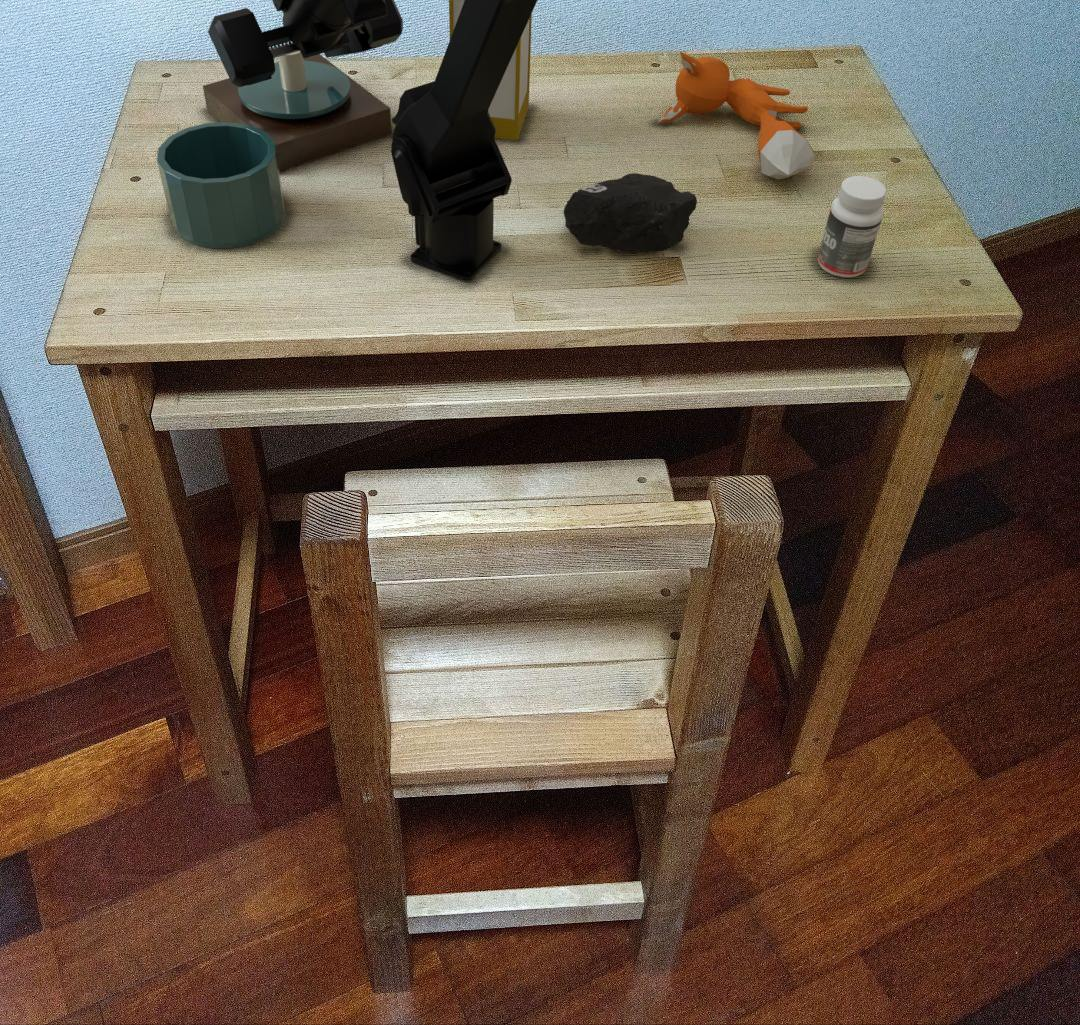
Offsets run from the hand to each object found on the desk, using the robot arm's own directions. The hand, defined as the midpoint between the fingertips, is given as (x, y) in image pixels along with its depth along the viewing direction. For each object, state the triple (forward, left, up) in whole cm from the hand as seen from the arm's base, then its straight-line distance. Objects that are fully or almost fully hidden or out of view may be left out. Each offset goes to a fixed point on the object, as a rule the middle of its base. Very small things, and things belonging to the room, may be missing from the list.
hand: (287, 63), depth 118 cm
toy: (-44, -22, -6) cm, 49 cm away
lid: (-1, 0, -3) cm, 3 cm away
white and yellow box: (-19, -9, -6) cm, 22 cm away
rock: (-40, 0, -6) cm, 40 cm away
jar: (-6, +18, -6) cm, 20 cm away
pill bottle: (-60, -6, -6) cm, 61 cm away
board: (-1, 0, -6) cm, 6 cm away
